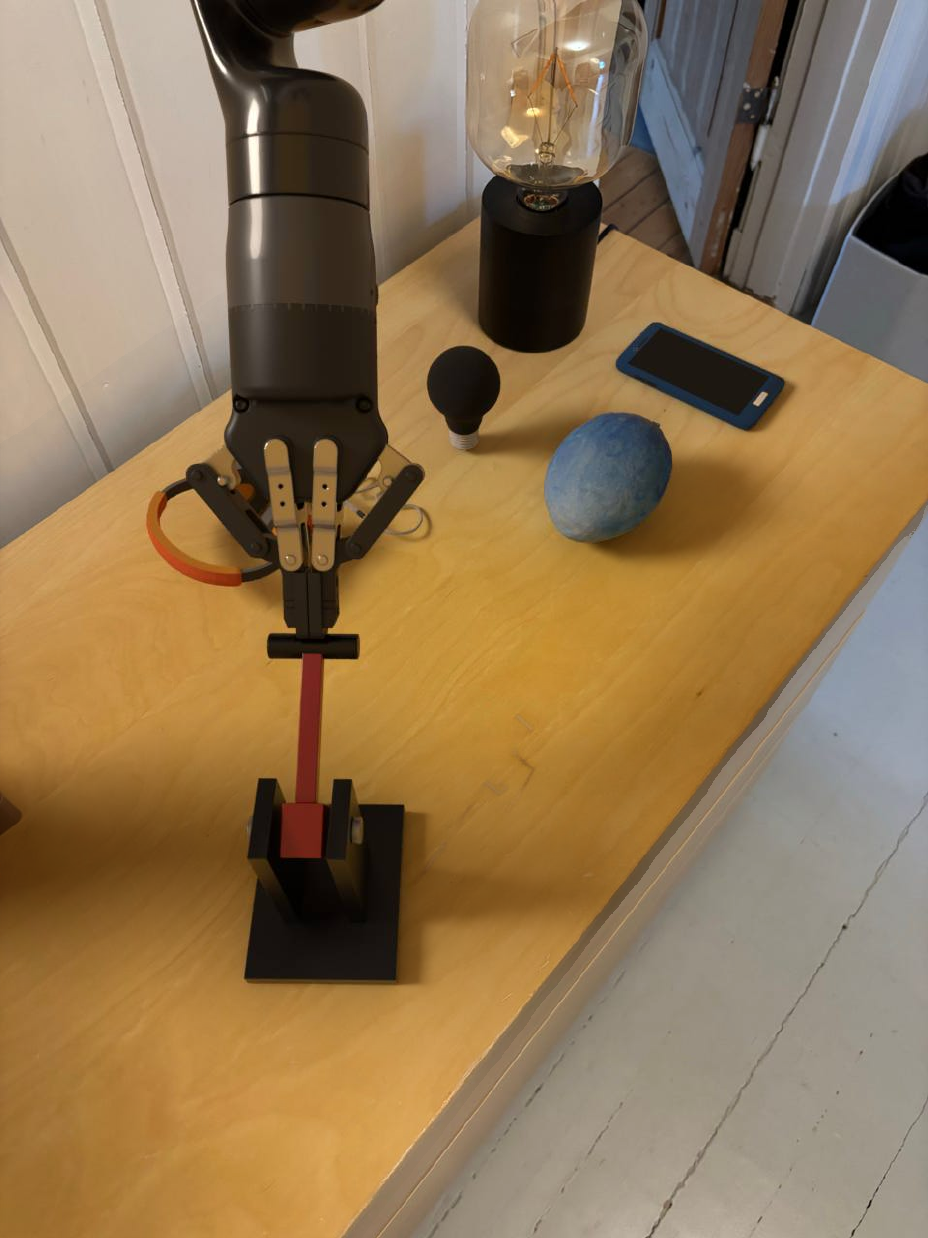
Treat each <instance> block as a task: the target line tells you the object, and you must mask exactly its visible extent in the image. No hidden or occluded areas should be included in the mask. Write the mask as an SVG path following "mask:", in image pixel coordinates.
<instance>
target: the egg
mask: <svg viewBox="0 0 928 1238" xmlns="http://www.w3.org/2000/svg"><path fill="white" fill-rule="evenodd" d="M663 412H664V413H666V409H664V410H663ZM673 465H674V464H673V452H672V449H671V446H670V443H669V441H668V439H667V438H666V435H665V434H664V431H663V430H662V428H661V424H660V423H659V422H656V421H652V420H650V419H648V418H646V417H644V416H642V415H640V414H636V413H631V412H623V411H622V412H621V411H620V412H618V411H617V412H614V411H608V412H606V413H605V412H604V413H600V414H598V415H596V416H595V417H593V418H591V419H589V420H587V421H585V422H584V423H582V424H581V425H579V426H577V427H575V428H574V429H573V430H572V431H571V432H570V433H569V434H567V435H566V437H565V438H564V439H563V440H562V441H561V442H560V444H559V445H558V447H557V448H556V449H555V452H554V453H553V454H552V457H551V459H550V460H549V462H548V466H547V470H546V473H545V478H544V484H543V494H544V495H543V496H544V500H545V504H546V508H547V510H548V513H549V517H550V519H551V522H552V524H553V526H554V528H555V530H556V531H557V532H558V533H560V534H561V536H563V537H565V538H566V539H568V540H571V541H574V542H576V543H581V544H582V543H583V544H591V543H600V542H605V541H608V540H611V539H614V538H616V537H620V536H622V535H624V534H626V533H628V532H630V531H632V530H633V529H635V528H636V527H638V526H639V525H640V524H642V523H643V522H644V521H645V520H646V518H648V517H649V516H650V514H651V513H652V512H653V511H654V510H655V509H656V508H657V506H659V504H660V503H661V500H662V499H663V497H664V495H665V494H666V491H667V488H668V485H669V482H670V480H671V477H672V470H673Z"/></svg>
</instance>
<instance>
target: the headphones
mask: <svg viewBox="0 0 928 1238" xmlns="http://www.w3.org/2000/svg"><path fill="white" fill-rule="evenodd" d="M236 469H237V471H238V473H239V475H240V478H241V482H240V485H239V486H238V488H237V490H238V491H239V492H240V493H241V494H242V496H243V497H244V498H245V499H246V501H247V502H248V503H249V504H250V505H251V507H252V508H253V509H254V510H255V512H256V513H257V514H258V515H259V513H261V512H262V511H263V510H264V509H265V508H266V507H267V508H266V509H265V511H264V512H263V513H262V515H261V516H260V518H261V519H262V520H263V521H264V523H265V524H266V525H267V526H268V527H269V529H270V530H271V531H272V532H273V533H274V535H276V536H277V533H276V528H275V527H274V524H273V517H272V508H271V504H270V503H271V501H269V500H268V499H266V498H265V497H264V496H263V495H262V494H261V493H260V491H259V490H258V489H257V487H256V486H255V485H254V483H253V482H252V481H251V479H250V478H249V477H248V476H247V474H246V473H245V472H244V470H243V469H242V468H241V466H240V465H239V464H238V462H237V463H236ZM367 479H368V476H367V477H366V478H365V479H364V481H365V480H367ZM375 488H379V486H378V483H376V484H372V485H371V486H367V487H365V488H362V489H357V491H356V492H355V493H354V495H356V494H357V495H358V494H361V493H364V492H367V491H370V490H373V489H375ZM191 490H194V489H193V488H192V486H191V485H190V484H189V483H188V481H187V479H186V477H184V478H180V479H179V480H176V481H174V482H172V483H170V484H169V485H167V486H166V487H165V488H164V489H162V490H157V491H155V492H154V494H153V496H152V497H151V499H150V501H149V503H148V507H147V511H146V519H145V523H146V524H145V525H146V530H147V534H148V537H149V539H150V542H151V544H152V545H153V547H154V550H156V552H157V553H158V555H159V556H160V557H161V558H162V559H163V560H164V561H165V562H166V563H167V565H169V566H171V567H172V568H173V569H174V570H176V571H177V572H178V573H180V574H182V575H183V576H185V577H187V578H190V579H192V580H194V581H197V582H200V583H203V584H207V585H212V586H217V587H230V588H231V587H232V588H233V587H235V588H237V587H240V586H241V585H242V584H243V583H249V582H254V581H257V580H262V579H264V578H266V577H268V576H270V575H272V574H274V573H275V572H277V571H278V570H280V569H279V567H278V566H277V565H275V564H274V563H271V562H268V561H266V560H264V563H261V564H259V565H257V566H254V567H249V568H243V569H242V568H240V567H239V566H224V565H216V564H212V563H211V564H210V563H207V562H204V561H201V560H199V559H196V558H194V557H191V556H190V555H188V554H186V553H185V552H183V551H181V550H180V549H179V548H178V547H177V546H176V545H175V544H174V543H173V542H171V540H170V539H169V538H168V536H166V534H165V533H164V532H163V529H162V528H161V517H162V515H163V513H164V511H165V510H166V508H167V506H168V502H169V501H170V500H172V499H173V498H174V497H176V496H178V495H180V494H183V493H185V492H188V491H191ZM383 494H384V491H382V490H381V489H380V491H378V492H377V493H376V494H375V495H374V498H375V501H376V502H377V501H378V500H379V499H380V498H379V496H381V495H383ZM269 504H270V505H269ZM344 507H347V508H348V509H350V510H351V511H353V512H355V514H356V515H357V516H358V517H359V518H360V519H362V520H364V518H365V517H366V516H367V514H365V512H363V511H362V510H361V509H358V508H357V507H356V506H355V505H354V504H353V503H351V502H350V501H349V500H346V501H344ZM403 507H407V508H413V509H415V510H416V511H417V512H418V514H419V522H418V523H417V525H415V526H414V528H412V529H409V530H405V531H393V530H388V529H387V528H386V529H385V531H384V532H383V533H386V534H389V535H396V536H403V535H408V534H412V533H414V532H416V531H417V530H418V529H419V528H420V527H421V525H422V523H423V521H424V516H423V515H424V514H423V513H422V510H421V509H420V508H419V506H417V505H416V504H411V503H405V505H404V506H403ZM307 514H308V519H307V529H308V539H309V547H310V546H311V545H312V535H313V527H312V514H310V513H309V512H308V511H307Z"/></svg>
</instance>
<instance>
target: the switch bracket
mask: <svg viewBox="0 0 928 1238" xmlns="http://www.w3.org/2000/svg"><path fill="white" fill-rule="evenodd" d="M331 792H332V793H331V801H330V803H329V804H330V821H329V831H328V842H327V853H326V857H322V858H281V857H280V839H281V820H282V804H283V803H288V802H287V800H286V797H285V796H284V795H285V794H284V793H283V790H282V787H281V785H280V783H279V781H278V778H276V777H259V778H258V779H257V785H256V792H255V799H254V806H253V813H252V815H251V816H249V817H248V819H247V823H246V824H247V825H246V840H247V842H248V848H247V855H246V859H247V861H248V863H249V865H250V866H251V868H252V869H253V871H254V873H255V874H256V875H255V876H257V877H256V882H255V883H256V884H255V890H254V897H253V898H254V899H253V905H252V914H251V920H250V929H249V937H248V943H247V951H246V957H245V958H246V959H245V966H244V971H243V972H244V973H243V979H244V980H245V982H246V983H248V984H294V985H295V984H297V985H298V984H299V985H300V984H305V985H312V984H313V985H385V986H386V985H387V986H388V985H389V986H390V985H391V986H392V985H394V986H397V985H398V976H399V975H398V972H399V954H400V934H401V933H400V932H401V911H402V910H401V909H402V889H403V888H402V887H403V869H404V868H403V867H404V849H405V848H404V846H405V828H406V827H405V824H406V807H405V804H401V803H400V804H397V803H393V804H392V803H390V804H389V803H359V802H358V798H357V795H356V790H355V786H354V781H353V778H333V780H332V790H331Z"/></svg>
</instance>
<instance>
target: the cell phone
mask: <svg viewBox="0 0 928 1238" xmlns="http://www.w3.org/2000/svg"><path fill="white" fill-rule="evenodd" d="M614 366H615V368H616V369H617V370H618V371H619V372H620V373H622V374H624V375H627V376H628V377H630V378H633V379H634V380H636V381H639V382H641V383H643V384H645V385H647V386H649V387H651V388H654V389H656V390H658V391H660V392H662V393H664V394H666V395H668V396H670V397H672V398H674V399H676V400H679V401H681V402H683V403H685V404H687V405H689V406H691V407H693V408H696V409H697V410H700V411H702V412H704V413H706V414H707V415H710V416H712V417H714V418H716V419H719V420H721V421H723V422H725V423H727V424H729V425H731V426H733V427H735V428H738V429H740V430H743V431H749V430H752V428H754V427H755V426H756V425H757V424H758V422H759V421H760V420H761V418H762V417H763V416H764V414H765V413H766V412H767V411H768V410H769V408H770V407H771V406H772V405H773V403H774V402H775V400H776V399H777V398H778V397H779V396H780V394H781V393H782V391H783V389H784V388H785V385H786V381H785V379H784V378H783V377H781V376H779V375H777V374H776V373H773V372H771V371H769V370H768V369H767V370H766V369H764V368H762V367H760V366H759V365H756V364H753V363H751V362H749V361H746V360H745V359H742V358H740V357H738V356H736V355H733V354H731V353H729V352H727V351H724V350H723V349H720V348H718V347H717V346H714V345H711V344H709V343H706V342H704V341H703V340H700V339H698V338H696V337H694V336H691V335H689V334H687V333H684V332H682V331H680V330H677V329H676V328H673V327H671V326H669V325H666V324H664V323H663V322H662V323H661V322H657V321H655V322H654V321H653V322H651V323H650V324H648V325H647V326H646V327H645V328H644V329H643V330H642V331H641V332H640V333H639V334H638V335H637V336H636V338H634V339H633V341H632V342H631V343H629V345H628V346H627V347H626V348H624V350H623V351H622V352H621V353H620V354H619V355H618V357H617V358H616V360H615V365H614Z"/></svg>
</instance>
